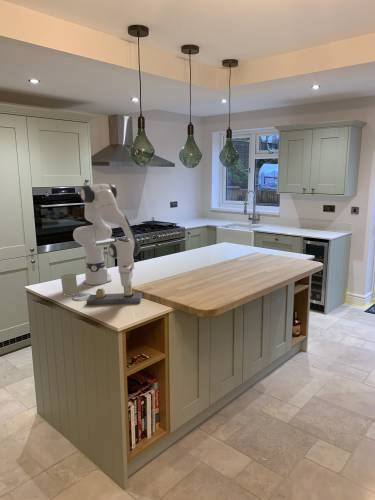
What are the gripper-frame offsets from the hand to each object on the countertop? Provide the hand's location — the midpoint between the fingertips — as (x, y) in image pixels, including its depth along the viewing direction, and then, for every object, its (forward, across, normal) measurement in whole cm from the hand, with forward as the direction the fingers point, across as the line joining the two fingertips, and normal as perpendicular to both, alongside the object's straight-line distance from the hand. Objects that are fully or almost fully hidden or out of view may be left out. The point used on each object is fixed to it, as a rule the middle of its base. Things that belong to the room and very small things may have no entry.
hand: (128, 289), depth 220 cm
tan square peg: (+7, 0, -16) cm, 17 cm away
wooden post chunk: (+3, 0, 0) cm, 3 cm away
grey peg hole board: (+7, 0, -8) cm, 11 cm away
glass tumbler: (+7, -19, -39) cm, 44 cm away
